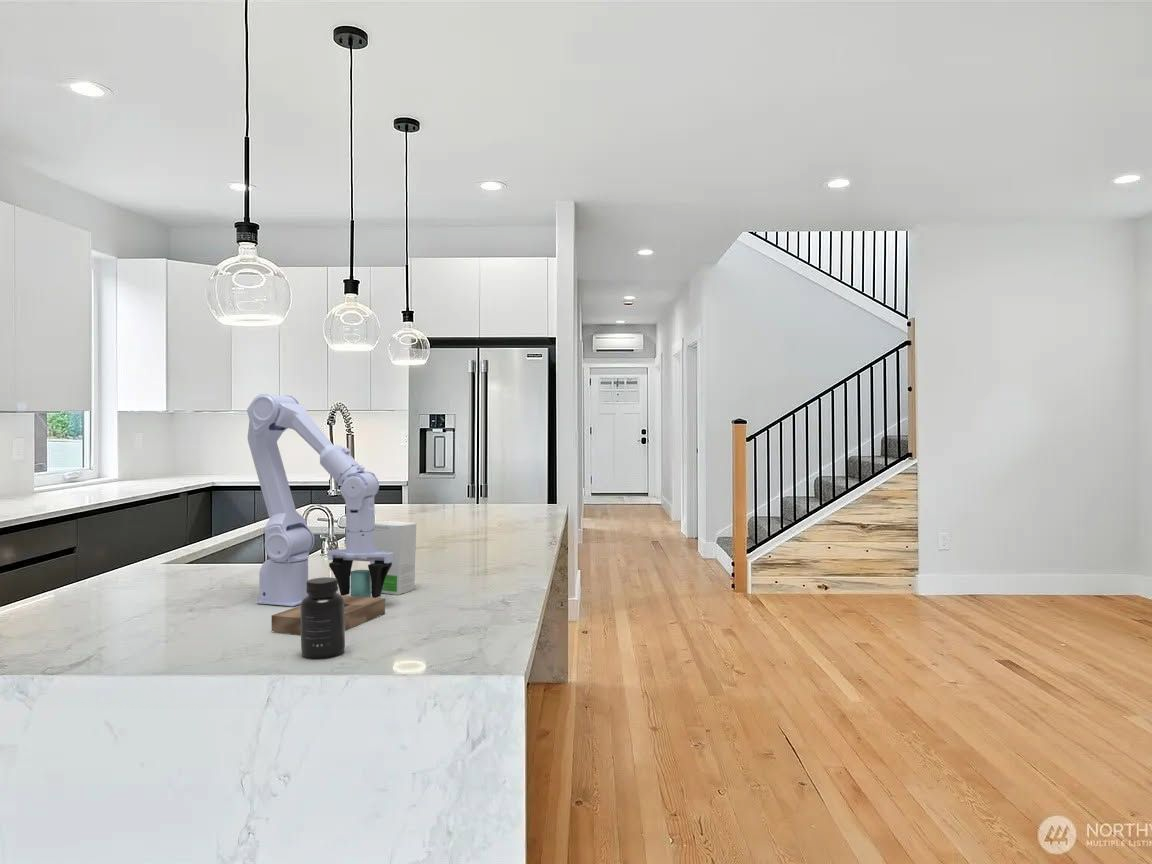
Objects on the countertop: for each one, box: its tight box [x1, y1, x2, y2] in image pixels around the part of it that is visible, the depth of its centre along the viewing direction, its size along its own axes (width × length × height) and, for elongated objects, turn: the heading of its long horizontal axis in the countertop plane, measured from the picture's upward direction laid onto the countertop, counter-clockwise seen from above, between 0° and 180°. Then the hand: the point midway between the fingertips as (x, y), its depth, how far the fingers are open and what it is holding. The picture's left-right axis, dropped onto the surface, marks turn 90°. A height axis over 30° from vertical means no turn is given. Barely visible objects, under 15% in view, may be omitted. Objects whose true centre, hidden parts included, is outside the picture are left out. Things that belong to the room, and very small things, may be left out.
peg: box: [350, 569, 372, 598], centre depth 157 cm, size 4×4×7 cm
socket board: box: [271, 594, 386, 636], centre depth 143 cm, size 12×18×3 cm, turn 162°
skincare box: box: [369, 519, 417, 596], centre depth 171 cm, size 8×7×16 cm
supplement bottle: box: [299, 576, 346, 660], centre depth 123 cm, size 7×7×12 cm
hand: (360, 595), depth 157 cm, fingers open, 7 cm apart
